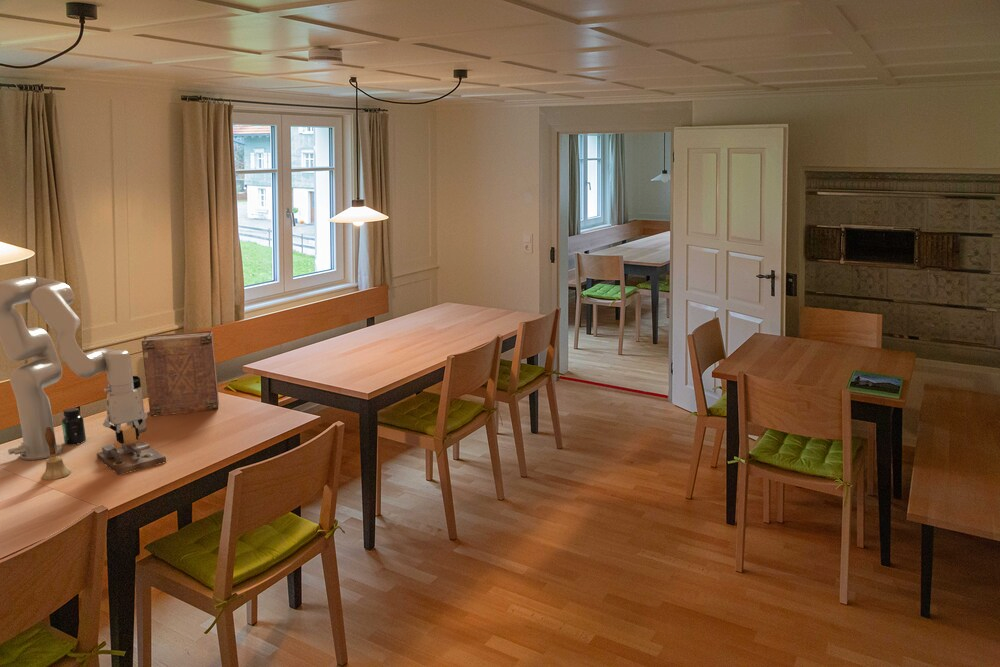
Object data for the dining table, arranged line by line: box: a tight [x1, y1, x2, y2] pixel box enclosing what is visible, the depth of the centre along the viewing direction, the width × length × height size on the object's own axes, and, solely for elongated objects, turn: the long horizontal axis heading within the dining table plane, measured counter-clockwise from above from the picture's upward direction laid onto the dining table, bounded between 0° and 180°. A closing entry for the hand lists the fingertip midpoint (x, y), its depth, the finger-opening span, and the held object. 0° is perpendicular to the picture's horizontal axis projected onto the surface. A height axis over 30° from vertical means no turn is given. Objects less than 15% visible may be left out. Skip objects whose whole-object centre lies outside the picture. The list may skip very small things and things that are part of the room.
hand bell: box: [41, 427, 72, 481], centre depth 259 cm, size 8×8×16 cm
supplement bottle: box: [61, 407, 87, 445], centre depth 288 cm, size 7×7×12 cm
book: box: [141, 330, 220, 417], centre depth 321 cm, size 25×9×30 cm, turn 107°
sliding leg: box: [120, 425, 141, 457], centre depth 270 cm, size 4×12×8 cm, turn 43°
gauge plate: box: [96, 441, 167, 476], centre depth 271 cm, size 15×20×5 cm
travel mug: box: [126, 375, 147, 434], centre depth 298 cm, size 6×7×20 cm
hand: (128, 440), depth 273 cm, fingers closed on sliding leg, 4 cm apart
